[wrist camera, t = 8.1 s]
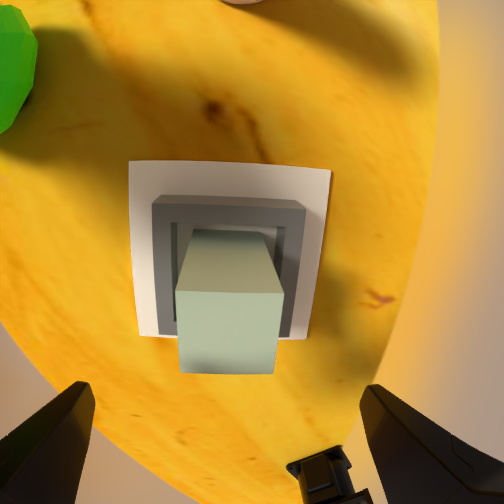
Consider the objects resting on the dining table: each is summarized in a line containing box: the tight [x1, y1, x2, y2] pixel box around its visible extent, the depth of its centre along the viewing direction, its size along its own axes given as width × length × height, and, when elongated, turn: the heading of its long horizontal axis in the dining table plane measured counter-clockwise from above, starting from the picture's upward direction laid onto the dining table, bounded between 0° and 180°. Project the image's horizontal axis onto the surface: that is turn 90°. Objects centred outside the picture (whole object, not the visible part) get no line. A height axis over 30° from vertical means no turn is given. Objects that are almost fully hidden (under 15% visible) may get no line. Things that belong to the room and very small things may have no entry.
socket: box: [129, 160, 331, 340], centre depth 19 cm, size 12×12×3 cm
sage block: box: [175, 229, 284, 374], centre depth 16 cm, size 4×4×8 cm
